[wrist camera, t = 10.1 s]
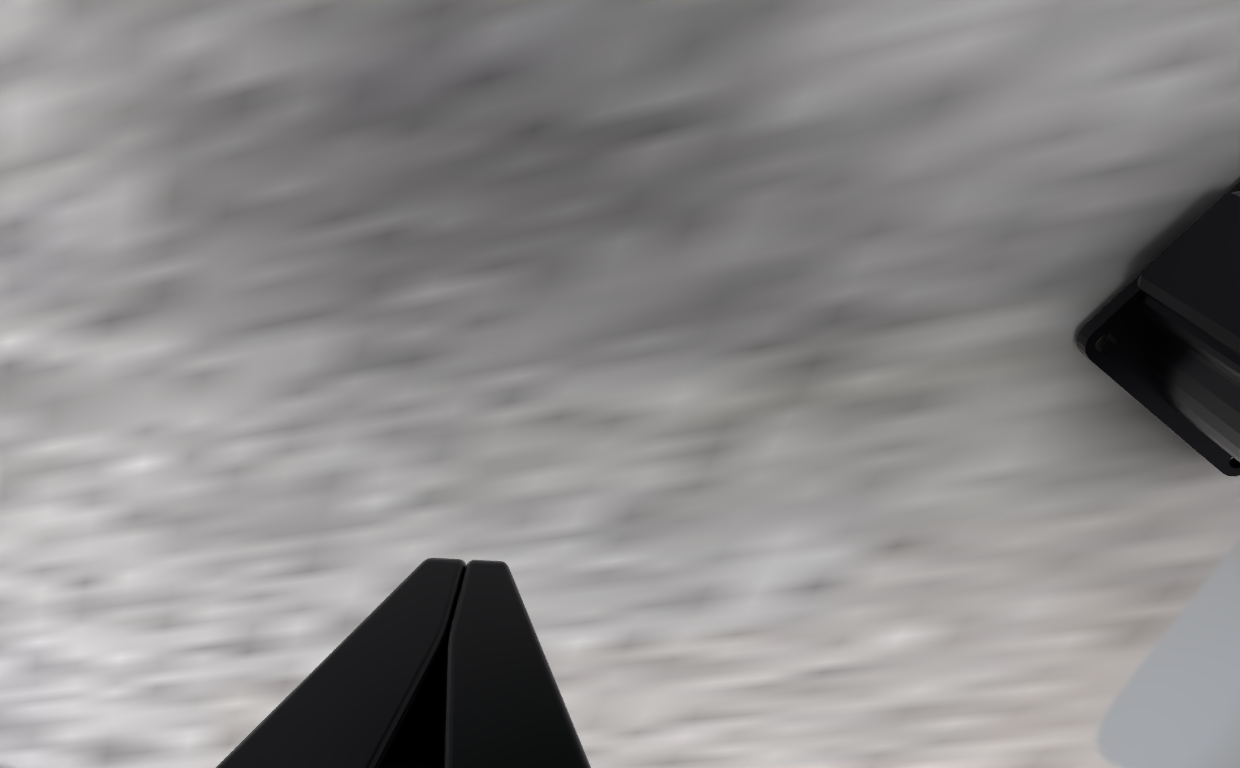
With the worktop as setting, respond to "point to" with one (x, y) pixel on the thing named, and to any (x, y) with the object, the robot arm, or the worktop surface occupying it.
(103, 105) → the worktop surface
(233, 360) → the worktop surface
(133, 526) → the worktop surface
